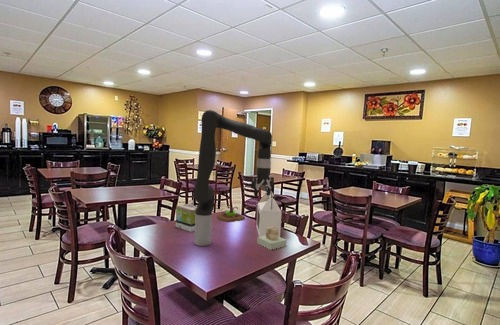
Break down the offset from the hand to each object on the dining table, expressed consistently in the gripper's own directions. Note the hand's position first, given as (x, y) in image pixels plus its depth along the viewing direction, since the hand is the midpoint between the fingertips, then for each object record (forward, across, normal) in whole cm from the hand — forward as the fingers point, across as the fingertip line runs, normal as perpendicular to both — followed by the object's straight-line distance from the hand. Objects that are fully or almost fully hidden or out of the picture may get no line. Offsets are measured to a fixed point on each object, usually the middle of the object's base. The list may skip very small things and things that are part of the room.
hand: (262, 195), depth 160 cm
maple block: (+26, -10, -1) cm, 28 cm away
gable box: (+30, -23, -20) cm, 43 cm away
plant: (+31, -19, -60) cm, 70 cm away
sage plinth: (+30, -10, -1) cm, 32 cm away
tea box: (+30, +19, -52) cm, 63 cm away
